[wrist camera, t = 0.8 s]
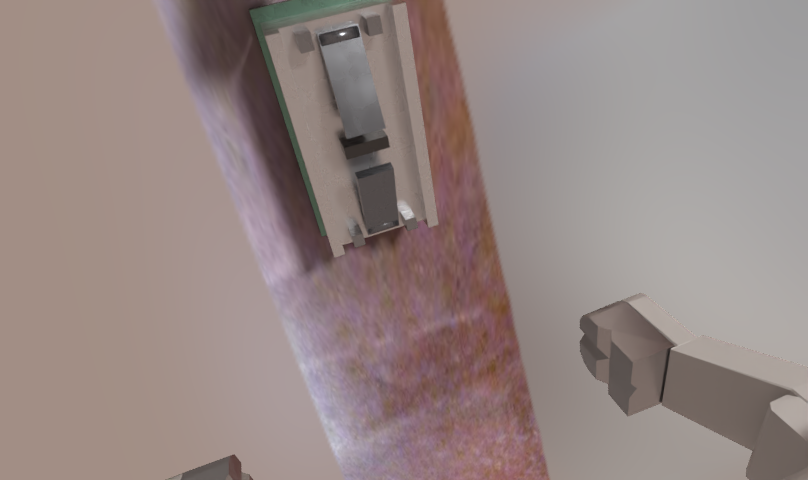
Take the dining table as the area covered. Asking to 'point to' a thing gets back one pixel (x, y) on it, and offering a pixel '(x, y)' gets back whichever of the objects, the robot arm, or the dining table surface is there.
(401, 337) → the dining table surface
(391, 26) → the fuse holder
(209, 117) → the dining table surface
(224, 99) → the dining table surface
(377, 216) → the strap
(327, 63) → the strap
